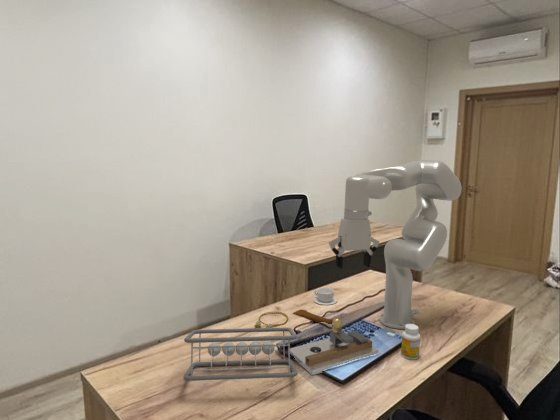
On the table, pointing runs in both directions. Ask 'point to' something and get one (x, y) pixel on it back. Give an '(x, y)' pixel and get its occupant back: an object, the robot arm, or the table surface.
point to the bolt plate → (325, 347)
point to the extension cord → (258, 324)
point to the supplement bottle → (410, 342)
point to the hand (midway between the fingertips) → (353, 266)
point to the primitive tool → (312, 316)
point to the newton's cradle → (240, 353)
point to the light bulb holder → (338, 333)
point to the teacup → (324, 296)
